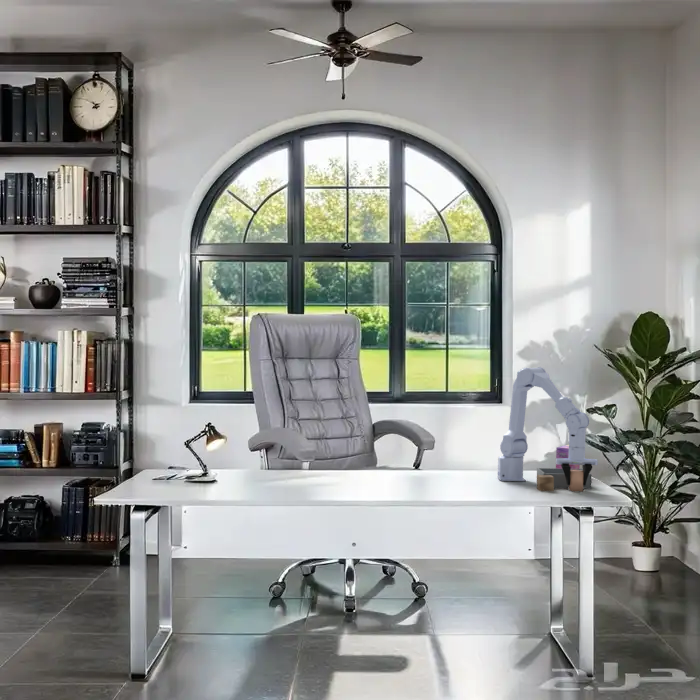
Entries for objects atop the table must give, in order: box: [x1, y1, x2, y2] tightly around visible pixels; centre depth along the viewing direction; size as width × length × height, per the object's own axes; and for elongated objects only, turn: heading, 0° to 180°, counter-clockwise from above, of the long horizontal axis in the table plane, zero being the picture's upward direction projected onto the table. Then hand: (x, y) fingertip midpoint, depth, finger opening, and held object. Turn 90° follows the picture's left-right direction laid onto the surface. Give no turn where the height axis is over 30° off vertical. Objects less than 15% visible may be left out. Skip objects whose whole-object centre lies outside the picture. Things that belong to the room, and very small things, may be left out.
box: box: [555, 444, 580, 469], centre depth 354 cm, size 10×6×12 cm, turn 143°
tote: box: [536, 467, 592, 489], centre depth 334 cm, size 17×13×5 cm
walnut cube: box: [536, 474, 554, 492], centre depth 323 cm, size 5×5×5 cm
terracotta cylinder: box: [568, 470, 584, 492], centre depth 323 cm, size 5×5×7 cm
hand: (576, 484), depth 323 cm, fingers closed on terracotta cylinder, 5 cm apart
